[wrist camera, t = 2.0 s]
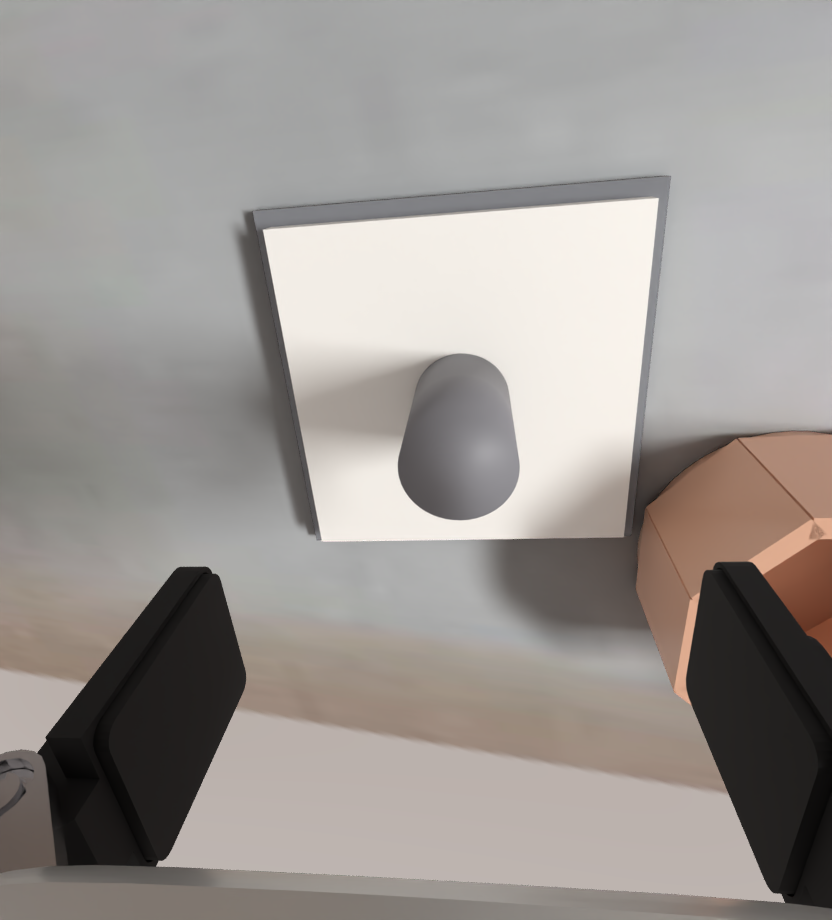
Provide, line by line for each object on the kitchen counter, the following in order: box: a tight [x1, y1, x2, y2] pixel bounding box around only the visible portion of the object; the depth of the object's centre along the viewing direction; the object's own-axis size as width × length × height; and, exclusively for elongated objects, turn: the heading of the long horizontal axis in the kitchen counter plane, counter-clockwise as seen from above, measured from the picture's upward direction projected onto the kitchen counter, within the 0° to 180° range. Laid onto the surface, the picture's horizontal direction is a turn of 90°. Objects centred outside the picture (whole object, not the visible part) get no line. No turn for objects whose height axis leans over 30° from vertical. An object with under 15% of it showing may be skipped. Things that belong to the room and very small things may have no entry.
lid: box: [263, 196, 659, 542], centre depth 18 cm, size 12×12×6 cm
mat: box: [253, 176, 671, 540], centre depth 20 cm, size 13×13×1 cm
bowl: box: [636, 431, 832, 706], centre depth 20 cm, size 10×10×6 cm
